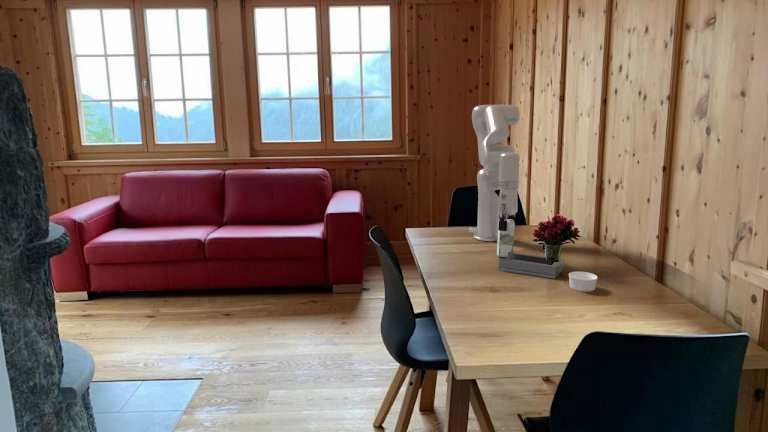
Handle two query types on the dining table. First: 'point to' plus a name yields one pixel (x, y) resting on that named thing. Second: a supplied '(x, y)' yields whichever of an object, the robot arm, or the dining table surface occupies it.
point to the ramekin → (582, 281)
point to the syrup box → (506, 239)
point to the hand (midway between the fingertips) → (506, 228)
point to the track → (530, 265)
